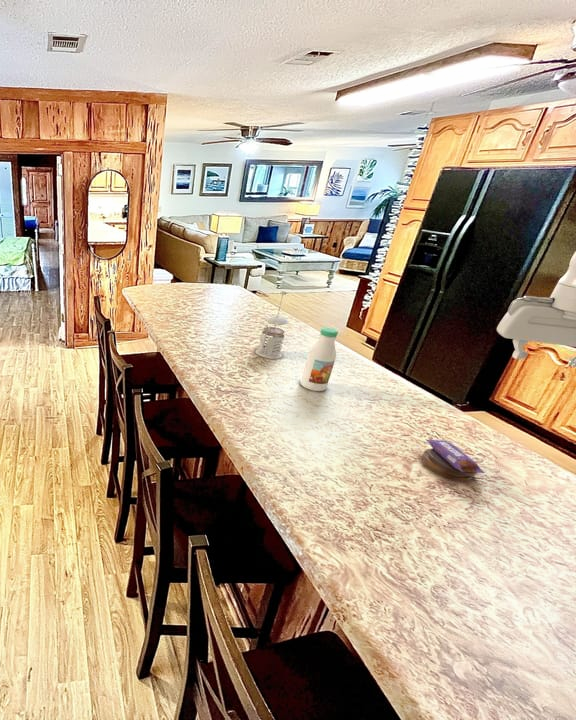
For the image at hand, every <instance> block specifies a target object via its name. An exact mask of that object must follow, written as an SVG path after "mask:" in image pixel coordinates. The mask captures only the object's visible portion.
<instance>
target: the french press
mask: <svg viewBox="0 0 576 720" xmlns="http://www.w3.org/2000/svg"><path fill="white" fill-rule="evenodd" d="M279 294H280V295H282V296H281V299H280V303H279V307H278V313H277V315H269V316H266V317H265V318H264V321H265V322H266V323H268V324H270V325H274V327H273V326H269V325H265V326H264V328H263V329H262V330H261V333H260V342H259V347H258V348H257V349H256V350H255V353H256V355H258V356H260V357H262V358H265V359H270V360H278V359H282V357H283V354H282V352H281V350H282V346H283V342H284V339H285V330H284V329H282V328H279V327H276V326H285V325H287V324H289V321H288V319H287V318H285V317H284V316H281V315H279V313H280V309H281V305H282V301H283V297H284V296H286V294H287V292H286V291H285V290H282V291H280V292H279Z"/></svg>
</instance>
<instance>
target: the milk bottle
mask: <svg viewBox="0 0 576 720" xmlns="http://www.w3.org/2000/svg"><path fill="white" fill-rule="evenodd" d="M338 334H339V331H338V330H337V329H335V328H331V327H322V328H321V329H320V332H319V338H318V340H316V342H315V343H314V344H313V345H312V346H311V348H310V349H309V351H308V355H307V358H306V361H305V364H304V367H303V371H302V375H301V378H300V385H301V386H302V387H304V388H305V389H307V390H310V391H314V392H323V391H325V390H326V389H327V387H328V383H329V381H330V378H331V375H332V372H333V370H334V369H333V368H334V365H335V361H336V358H337V350H336V349H337V348H336V345H335V343H336V342H335V341H336V339H337V336H338Z"/></svg>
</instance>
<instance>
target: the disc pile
mask: <svg viewBox="0 0 576 720" xmlns="http://www.w3.org/2000/svg"><path fill="white" fill-rule="evenodd" d="M422 461H423V464H424V466H425V467H426V468H428V469H429V470H430V472H433V473H434V474H436V475H438V476H440V477H442V478H444V479H447V480H450V481H453V482H458V483H459V482H461V483H466V482H469V481H471V479H472V478H473V476H477V474H478V473H474V472H462V471H460V470H458V469H456V468H455V467H453V466H452V465H451V464H450V463H449V462H448V461H447V460H445V459H444V458H443V457H442V456H441V455H440V454H439V453H437V452H436V451H435V450H434V449H433V448H427V449H425V450H424V451H423V453H422Z"/></svg>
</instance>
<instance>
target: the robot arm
mask: <svg viewBox="0 0 576 720" xmlns="http://www.w3.org/2000/svg"><path fill="white" fill-rule="evenodd" d="M568 265H569V266H568V269H567V271H566V272H565V274H564V275H563V276H561V278H560V279H559V280H558V281H557V283H556V285H555V287H554V288H553V291H552V293H551V294H550V296H549V297H546V296H545V297H544V296H533V295H523V296H522V297H518V298H515V299H514V300H512V302H511V303H510V305H509V307H508V309H507V312H506V313H505V314H504V316H503V317H502V319H501V320H500V321H499V323H498V325H497V327H496V332H497V333H498V335H500V336H501V337H503V338H504V339H511V340H512V344H513V348H514V351H513V352H512V357H511V358H513V359H516V360H523V361H524V360H526V358H527V356H528V355H529V352H527V351H526V350H524V347H523V346H527V344H528V343H529V342H533V343H534V342H535V343H541V344H549V345H550V344H551V345H558V346H566V347H573V348H576V250H575V251H574V253H573V255H572V256H571V259H570V260H569V264H568ZM567 364H568V365H569V366H570V367H573V368H576V356H571V357H570V359H569V360H568V362H567Z"/></svg>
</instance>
